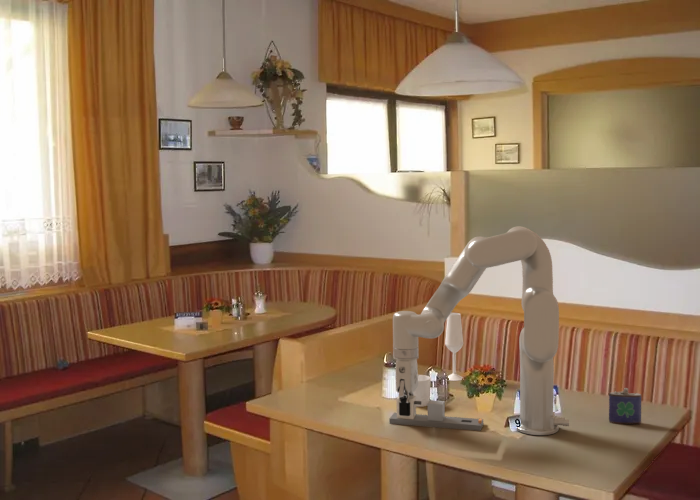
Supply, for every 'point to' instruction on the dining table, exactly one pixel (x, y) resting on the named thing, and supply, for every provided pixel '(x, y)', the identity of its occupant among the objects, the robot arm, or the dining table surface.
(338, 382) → the dining table surface
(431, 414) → the grey block
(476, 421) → the strip
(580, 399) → the dining table surface
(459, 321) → the champagne flute
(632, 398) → the flask
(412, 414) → the ivory charger
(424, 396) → the white cup
